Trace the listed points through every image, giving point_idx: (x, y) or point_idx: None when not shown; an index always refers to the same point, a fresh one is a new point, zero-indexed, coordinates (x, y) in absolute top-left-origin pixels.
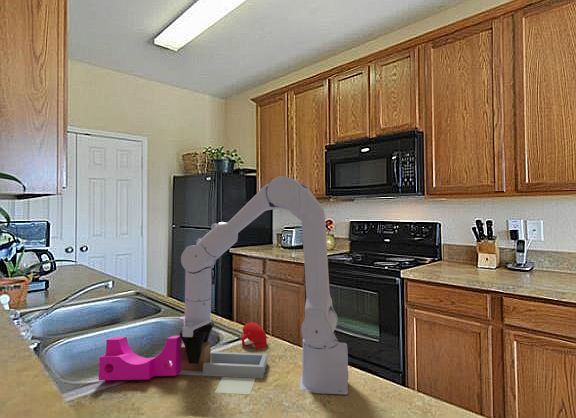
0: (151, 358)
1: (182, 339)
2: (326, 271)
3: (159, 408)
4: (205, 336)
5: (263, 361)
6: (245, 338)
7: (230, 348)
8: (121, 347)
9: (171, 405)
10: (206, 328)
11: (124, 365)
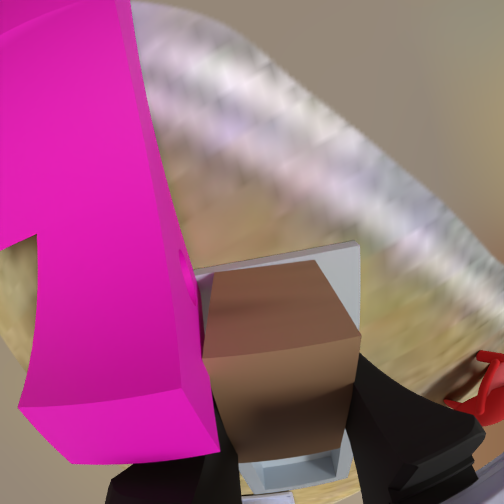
0: (109, 145)
1: (130, 469)
2: None
3: (8, 327)
4: (357, 456)
5: (291, 488)
6: (478, 391)
7: (478, 325)
8: None
9: (30, 349)
10: (370, 500)
11: None
